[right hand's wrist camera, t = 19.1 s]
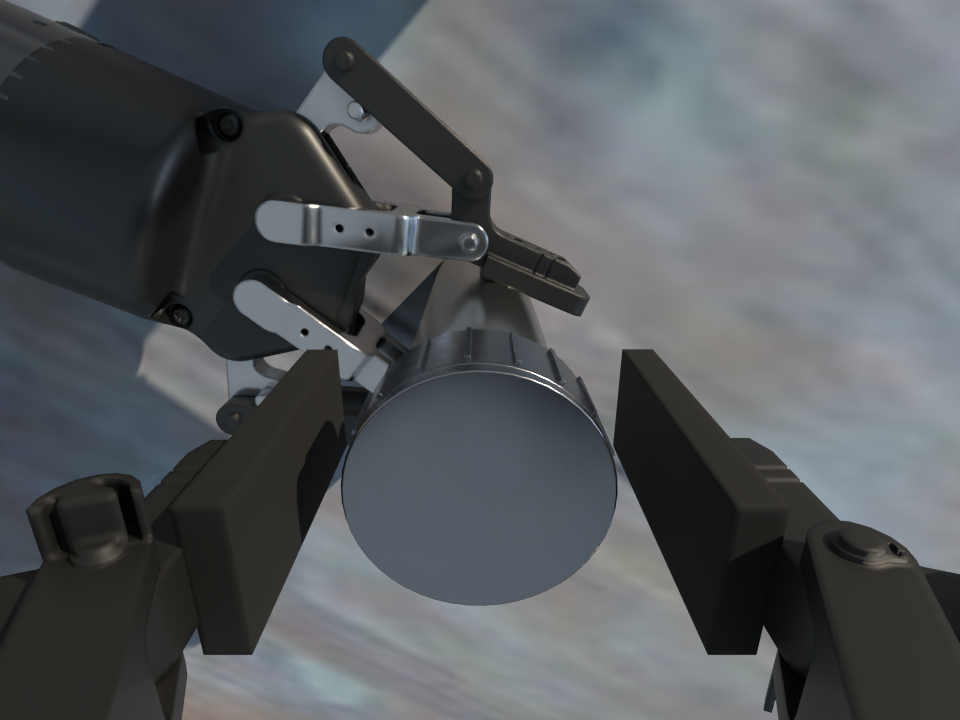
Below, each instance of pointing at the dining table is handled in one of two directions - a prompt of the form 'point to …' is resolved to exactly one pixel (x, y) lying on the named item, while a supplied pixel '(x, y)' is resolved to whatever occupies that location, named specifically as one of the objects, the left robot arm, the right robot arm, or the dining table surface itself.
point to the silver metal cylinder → (475, 305)
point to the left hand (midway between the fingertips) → (549, 359)
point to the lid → (479, 470)
